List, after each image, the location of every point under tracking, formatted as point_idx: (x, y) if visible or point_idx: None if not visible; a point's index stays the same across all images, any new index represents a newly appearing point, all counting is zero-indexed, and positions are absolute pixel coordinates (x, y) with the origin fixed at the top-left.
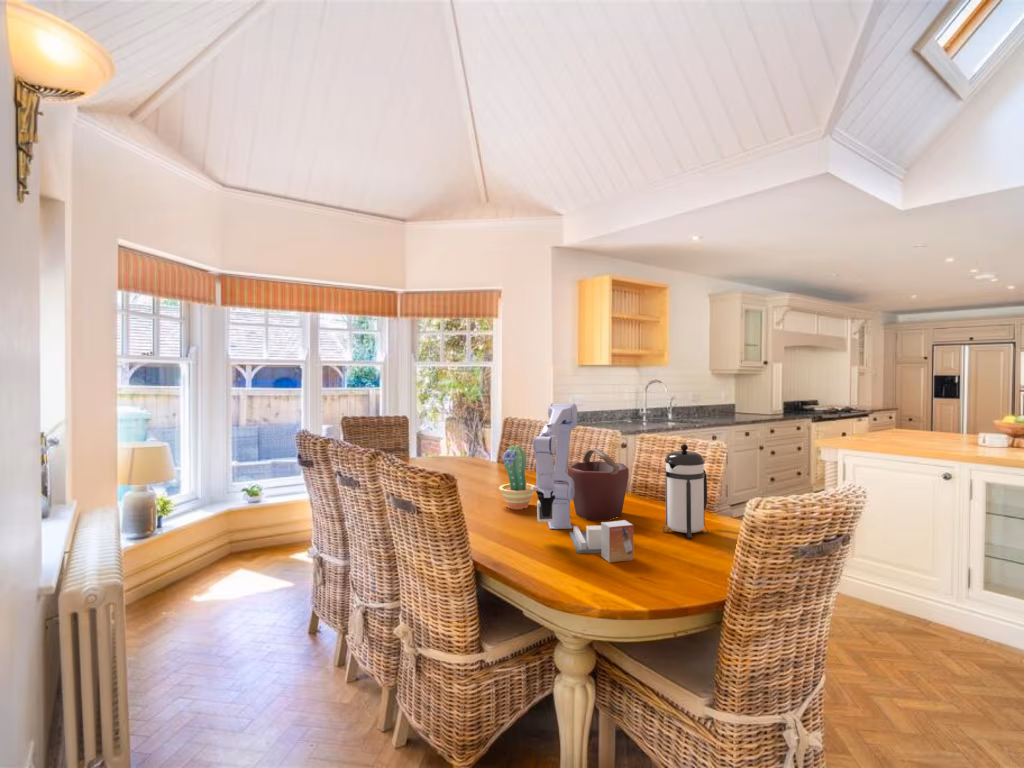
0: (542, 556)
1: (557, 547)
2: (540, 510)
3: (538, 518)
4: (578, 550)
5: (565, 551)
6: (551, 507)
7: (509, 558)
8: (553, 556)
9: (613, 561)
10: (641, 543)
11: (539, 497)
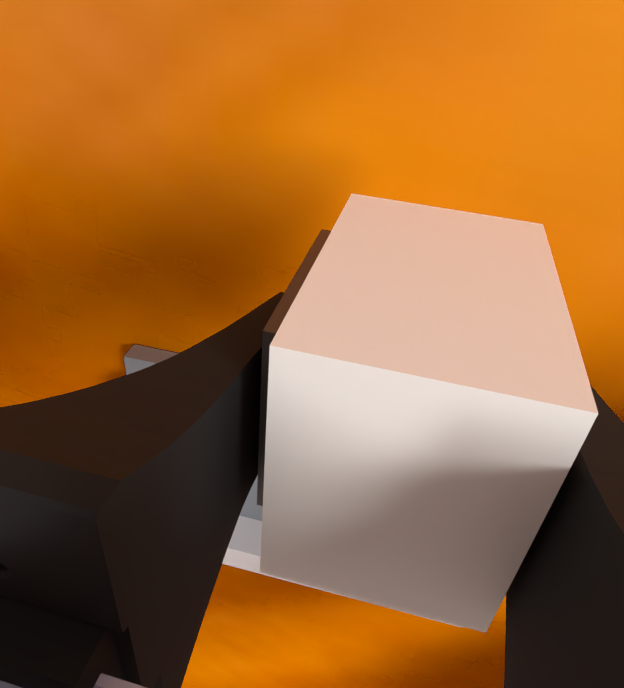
0: (58, 84)
1: (258, 257)
2: (284, 307)
3: (343, 216)
4: (125, 359)
5: (172, 286)
6: (260, 487)
7: None
8: (69, 175)
9: None
10: (272, 626)
11: None
